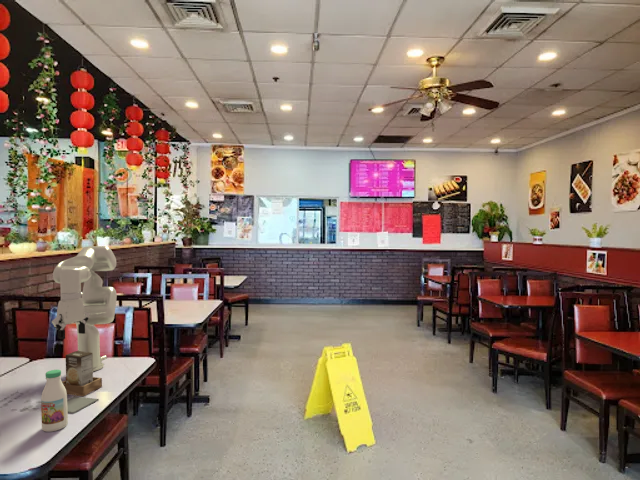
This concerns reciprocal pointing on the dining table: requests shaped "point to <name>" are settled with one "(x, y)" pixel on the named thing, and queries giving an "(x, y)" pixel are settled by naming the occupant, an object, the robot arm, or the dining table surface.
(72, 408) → the mat
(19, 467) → the dining table surface
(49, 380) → the milk bottle
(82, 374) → the coffee box
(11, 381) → the dining table surface
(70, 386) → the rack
